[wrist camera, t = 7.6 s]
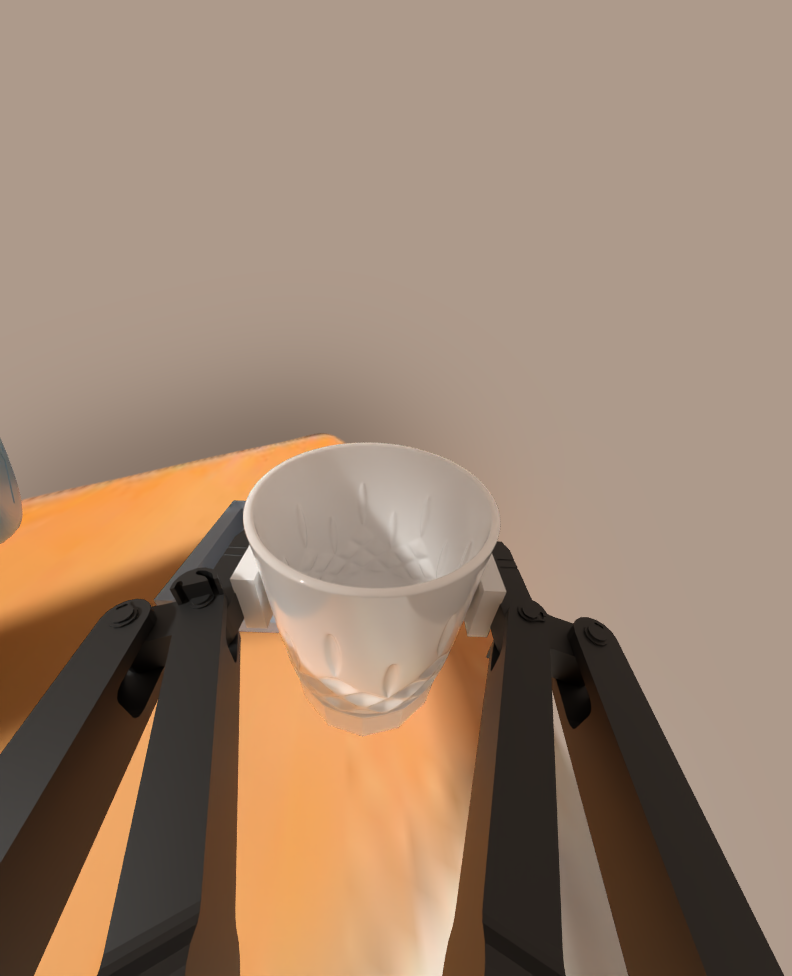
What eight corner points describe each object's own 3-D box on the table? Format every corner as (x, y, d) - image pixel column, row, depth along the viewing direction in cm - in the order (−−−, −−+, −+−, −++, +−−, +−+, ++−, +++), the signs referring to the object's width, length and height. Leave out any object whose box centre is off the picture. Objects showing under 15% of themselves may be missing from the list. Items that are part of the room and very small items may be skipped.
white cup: (458, 759, 12) (545, 605, 6) (260, 752, 12) (176, 584, 6) (437, 593, 18) (471, 448, 13) (311, 586, 18) (291, 435, 13)
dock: (331, 634, 26) (328, 606, 24) (170, 629, 26) (153, 600, 24) (350, 531, 38) (350, 506, 36) (241, 526, 38) (233, 500, 36)
